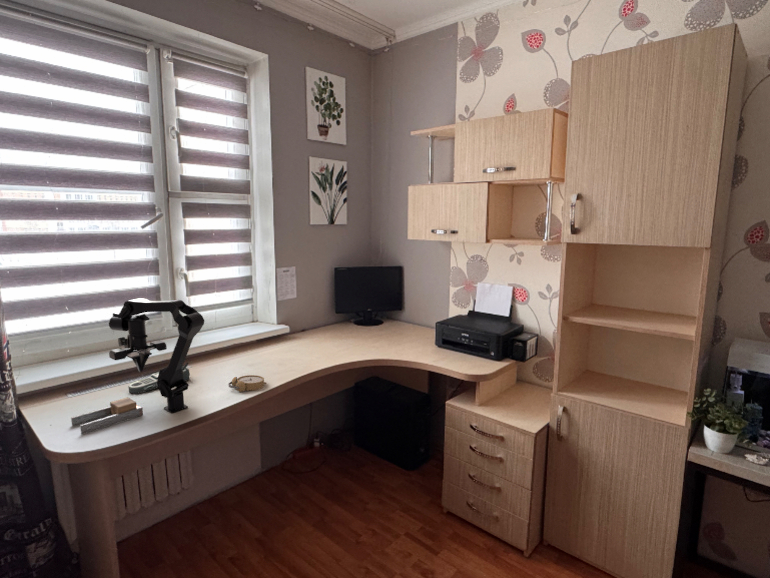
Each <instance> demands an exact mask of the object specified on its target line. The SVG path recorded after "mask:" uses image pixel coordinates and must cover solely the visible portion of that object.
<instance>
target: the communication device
mask: <svg viewBox="0 0 770 578" xmlns="http://www.w3.org/2000/svg"><path fill="white" fill-rule="evenodd" d="M188 365H189V362H187V363H186V364H184V365H183V367H182V372H183V379H184V380H185V381H186V382H187V381H189V380H190V376H191V374H190V369H188V368H187V366H188ZM158 375H159V371H158V372H155V373H152V374H151V375H150V376H149V377H146V378H143V379H140V380H137V381H134V382H132V383H130V384H129V385H128V387H127V388H128V392H129V393H130V394H133V395H134V394H135V395H136V394H142V393H143V394H144V393H145V392H146V393H147V392H150V391H152V390H156V389H159V388H158V385H157V380H158V379H156V378H157V377H158Z"/></svg>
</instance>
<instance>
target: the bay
mask: <svg viewBox="0 0 770 578" xmlns="http://www.w3.org/2000/svg"><path fill="white" fill-rule="evenodd" d="M143 410H144V409H143V406H139V405H138V404H137V405H136V408H135V409H132V410H128V411H125V412H122V413H118V414H115V415H112V414H111V406H110V405H109V406H106V407H103V408H99V409H96V410H93V411H89V412H85V413H82V414H78V415H75V416H72V417H70V420H71V427H75V426H76V427H77V426H79V427H80V434H81V435H85V434H88V433H90V432H91V433H92V432H93V431H97V430H101V429H104V428H107V427H110V426H113V425H117V424H120V423H123V422H126V421H129V420H132V419H135V418H138V417H141V416H143V415H144V411H143Z"/></svg>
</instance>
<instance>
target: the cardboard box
mask: <svg viewBox="0 0 770 578" xmlns="http://www.w3.org/2000/svg"><path fill="white" fill-rule="evenodd" d="M136 405H137V406H138V404H137V402H136V401H135V400H134V399H132V398H130V397H128V396H127V397H125V398H123V397H122V398H120V399H117V400H114V401H110V403H109V406H111V414H112V415H115V414H118V413H122V412H125V411H128V410H132V409H135V408H136ZM112 415H111V416H112Z"/></svg>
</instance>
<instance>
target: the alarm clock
mask: <svg viewBox="0 0 770 578" xmlns="http://www.w3.org/2000/svg"><path fill="white" fill-rule="evenodd" d="M266 384H267V382H265V378H264V376H261V375H254V374H253V375H252V374H251V375H250V374H247V375H242V376H239V377H237V376H235V377H233V378H232V380H231V381H229V382H228V388H231V389H235V390H236V391H237V392H239V393H243V392H245V391H258V390H260V389H263V388H264V387H263V386H265V385H266Z"/></svg>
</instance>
